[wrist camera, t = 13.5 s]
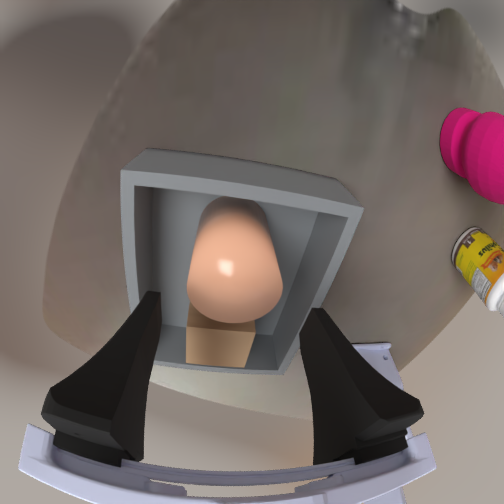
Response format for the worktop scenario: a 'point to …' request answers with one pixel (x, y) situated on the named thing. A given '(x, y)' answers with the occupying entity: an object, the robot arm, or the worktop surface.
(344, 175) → the worktop surface
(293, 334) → the gray tote
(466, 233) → the supplement bottle
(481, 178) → the pepper mill
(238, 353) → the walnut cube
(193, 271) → the terracotta cylinder
